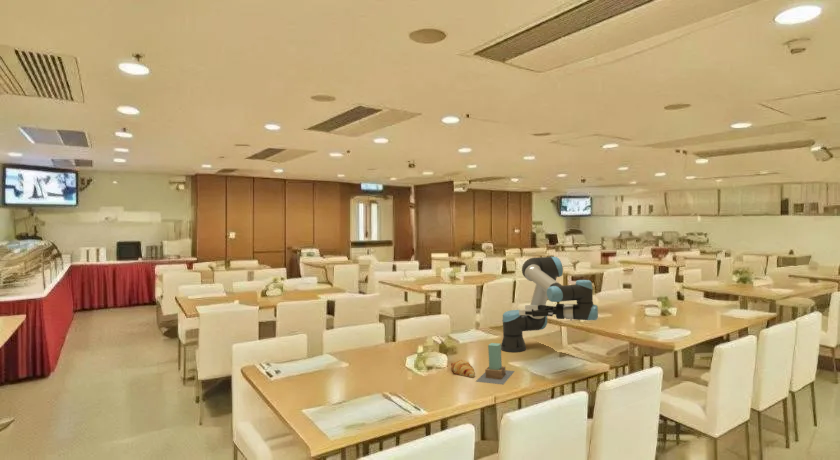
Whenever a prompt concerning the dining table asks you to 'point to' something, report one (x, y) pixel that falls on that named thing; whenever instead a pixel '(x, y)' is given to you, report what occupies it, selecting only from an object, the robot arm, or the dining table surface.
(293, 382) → the dining table surface
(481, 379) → the placemat
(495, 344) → the pillar
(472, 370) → the croissant
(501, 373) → the plinth
